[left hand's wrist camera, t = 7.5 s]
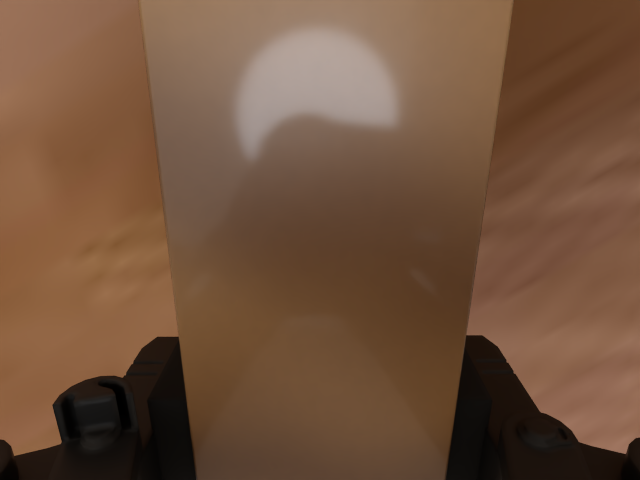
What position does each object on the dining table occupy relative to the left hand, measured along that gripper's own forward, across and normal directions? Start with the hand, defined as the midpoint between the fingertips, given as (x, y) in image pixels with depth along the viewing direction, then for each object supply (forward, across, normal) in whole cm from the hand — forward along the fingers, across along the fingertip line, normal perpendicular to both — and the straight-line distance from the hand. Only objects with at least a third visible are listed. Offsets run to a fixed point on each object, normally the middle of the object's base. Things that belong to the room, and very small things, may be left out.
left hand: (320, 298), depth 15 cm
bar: (+1, 0, -35) cm, 35 cm away
